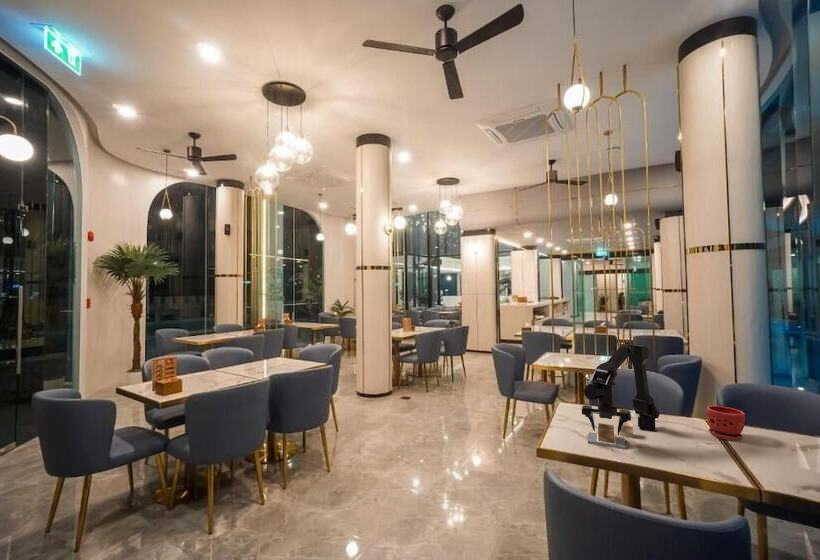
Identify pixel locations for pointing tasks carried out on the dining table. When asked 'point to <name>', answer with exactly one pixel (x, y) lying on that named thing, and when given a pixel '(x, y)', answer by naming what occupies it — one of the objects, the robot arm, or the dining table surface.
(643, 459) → the dining table surface
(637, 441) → the dining table surface
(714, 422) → the plant pot
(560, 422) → the dining table surface
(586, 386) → the robot arm
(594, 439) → the base board
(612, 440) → the walnut block
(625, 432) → the maple cube
